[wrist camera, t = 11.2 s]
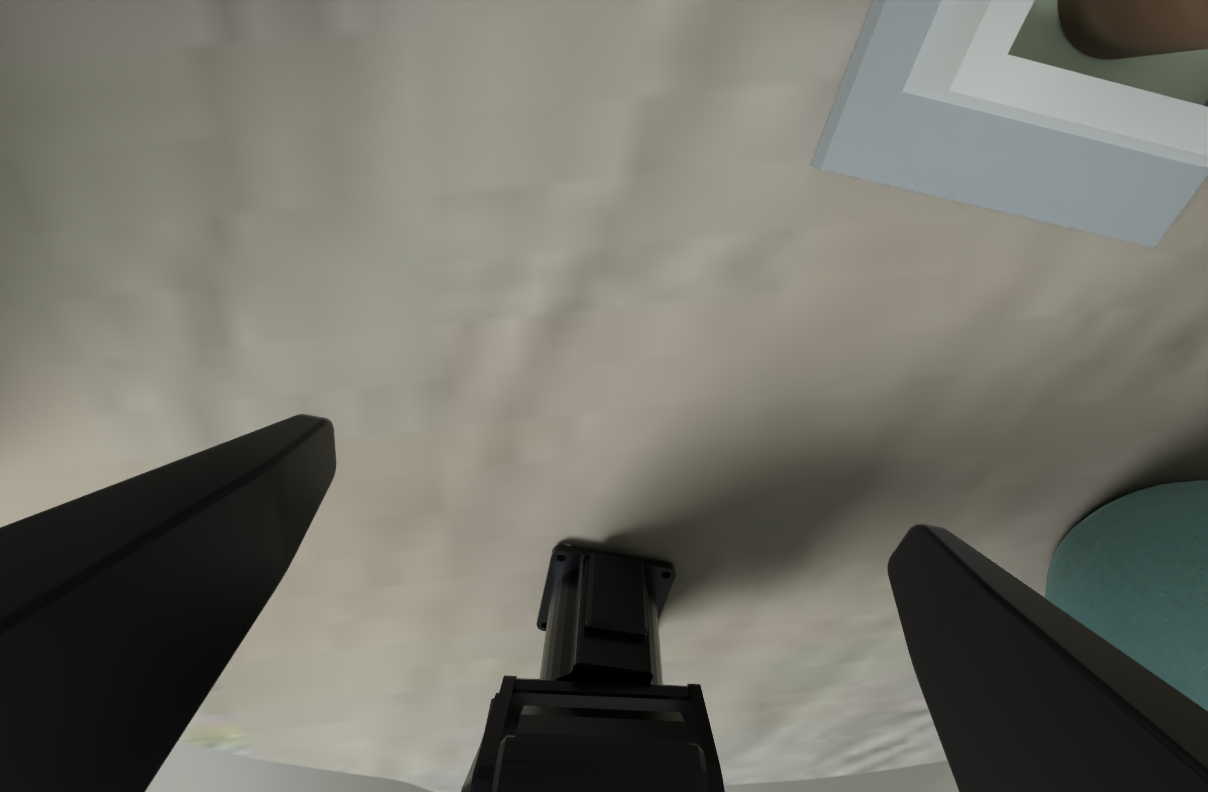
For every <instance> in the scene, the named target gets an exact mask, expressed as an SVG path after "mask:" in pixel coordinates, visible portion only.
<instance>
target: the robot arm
mask: <svg viewBox="0 0 1208 792" xmlns="http://www.w3.org/2000/svg"><path fill="white" fill-rule="evenodd" d="M335 470H336V452H335V439H334V428H333V424H332V422H331V421H330V420H329V419H327V418H323V417H317V416H312V415H306V414H299V415H296V416H293V417H290V418H288V419H285V420H283V421H280V422H277V423H275V424H272V425H269V426H267V427H264V428H262V429H259V430H256V431H254V432H251V433H248V434H246V435H243V436H240V437H238V438H235V439H233V440H230V441H227V442H225V443H222V444H219V445H217V446H214V447H212V448H209V449H206V450H204V451H201V452H198V453H196V454H193V455H191V456H188V457H185V458H183V459H180V460H177V461H175V462H172V463H169V464H167V465H164V466H162V467H159V468H156V469H154V470H151V471H148V472H146V473H143V474H140V475H138V476H135V477H133V478H130V479H127V480H125V481H122V482H119V483H117V484H114V485H111V486H109V487H106V488H104V489H101V490H98V491H96V492H93V493H90V494H88V495H85V496H82V497H80V498H77V499H75V500H72V501H69V502H67V503H64V504H61V505H59V506H56V507H53V508H51V509H48V510H46V511H43V512H40V513H38V514H35V515H32V516H30V517H27V518H24V519H22V520H19V521H17V522H14V523H11V524H9V525H6V526H3V527H1V528H0V792H145V791H146V789H147V788H148V786H149V785H150V783H151V782H152V780H153V779H154V777H155V775H156V774H157V772H158V771H159V769H160V768H161V766H162V765H163V763H164V761H165V760H166V758H167V757H168V755H169V754H170V752H171V750H172V749H173V748H174V746H175V744H176V743H177V741H178V740H179V738H180V737H181V735H182V734H183V732H184V731H185V729H186V727H187V726H188V724H189V723H190V721H191V720H192V718H193V717H194V715H195V714H196V712H197V710H198V709H199V707H200V706H201V704H202V703H203V701H204V700H205V698H206V696H207V695H208V693H209V692H210V690H211V689H212V687H213V686H214V684H215V683H216V681H217V679H218V678H219V676H220V675H221V673H222V672H223V670H224V669H225V667H226V665H227V664H228V662H229V661H230V659H231V658H232V656H233V655H234V653H235V652H236V650H237V648H238V647H239V645H240V644H241V642H242V641H243V639H244V638H245V636H246V634H247V633H248V631H249V630H250V628H251V627H252V625H253V624H254V622H255V621H256V619H257V617H258V616H259V614H260V613H261V611H262V610H263V608H264V607H265V605H266V603H267V602H268V600H269V599H270V597H271V596H272V594H273V593H274V591H275V590H276V588H277V586H278V585H279V583H280V581H281V580H282V578H283V576H284V575H285V573H286V572H287V570H288V568H289V566H290V564H291V562H292V560H293V558H294V557H295V555H296V553H297V551H298V549H299V547H300V545H301V543H302V541H303V539H304V536H305V534H306V532H307V530H308V528H309V526H310V524H311V522H312V520H313V518H314V516H315V514H316V512H317V510H318V508H319V506H320V504H321V502H322V500H323V498H324V496H325V494H326V492H327V490H328V488H329V486H330V484H331V482H332V480H333V478H334V475H335ZM561 555H562V556H561ZM675 575H676V573H675V567H674V565H673V564H671V563H668V562H663V561H657V560H650V559H644V558H638V557H632V556H626V555H620V554H614V553H608V552H602V551H596V550H590V549H583V548H577V547H571V546H565V545H558V546H556V547H554V548H553V550H552V555H551V559H550V564H549V568H548V573H547V577H546V582H545V587H544V591H543V596H542V600H541V605H540V609H539V614H538V619H537V627H538V629H540V630H542V631H546V635H545V643H544V650H543V658H542V665H541V673H540V679H520V678H517V676H504V678H503V681H502V685H501V689H500V692H499V693H496V695H495V698H493V699H491V704H490V709H489V713H488V718H487V723H486V727H485V732H484V735H483V739H482V742H481V744H480V747H479V749H478V752H477V754H476V756H475V759H474V761H473V764H472V766H471V768H470V771H469V773H468V775H467V778H466V780H465V783H464V785H463V787H462V791H461V792H725V791H724V785H723V778H722V773H721V768H720V764H719V759H718V755H717V751H716V747H715V743H714V739H713V735H712V731H711V727H710V723H709V718H708V714H707V710H706V706H705V702H704V698H703V694H702V690H701V686H700V684H687V686H676V685H663V681H662V668H661V655H660V643H659V630H658V618H659V616H660V613H661V611H662V608H663V606H664V603H665V601H666V598H667V596H668V593H669V591H670V589H671V586H672V584H673V581H674V579H675ZM888 576H889V580H890V583H891V587H892V591H893V595H894V598H895V602H896V606H897V609H898V613H899V617H900V621H901V624H902V628H903V632H904V635H905V639H906V643H907V647H908V650H909V654H910V657H911V661H912V664H913V667H914V670H915V673H916V676H917V679H918V682H919V685H920V687H921V690H922V693H923V695H924V698H925V701H926V703H927V706H928V709H929V712H930V714H931V717H932V720H933V722H934V725H935V728H936V730H937V733H938V736H939V738H940V741H941V744H942V747H943V749H944V752H945V755H946V757H947V760H948V762H949V765H950V768H951V770H952V773H953V776H954V779H955V781H956V784H957V787H958V790H959V792H1208V711H1207V710H1205V709H1204V708H1203V707H1201V706H1200V705H1198V704H1197V703H1195V702H1194V701H1192V700H1191V699H1190V698H1188V697H1187V696H1185V695H1184V694H1182V693H1181V692H1179V691H1178V690H1177V689H1175V688H1174V687H1172V686H1171V685H1169V684H1168V683H1167V682H1165V681H1164V680H1162V679H1161V678H1159V677H1158V676H1156V675H1155V674H1154V673H1152V672H1151V671H1149V670H1148V669H1146V668H1145V667H1144V666H1142V665H1141V664H1139V663H1138V662H1136V661H1135V660H1133V659H1132V658H1131V657H1129V656H1128V655H1126V654H1125V653H1123V652H1122V651H1121V650H1119V649H1118V648H1116V647H1115V646H1113V645H1112V644H1110V643H1109V642H1108V641H1106V640H1105V639H1103V638H1102V637H1100V636H1099V635H1097V634H1096V633H1095V632H1093V631H1092V630H1090V629H1089V628H1087V627H1086V626H1085V625H1083V624H1082V623H1080V622H1079V621H1077V620H1076V619H1074V618H1073V617H1072V616H1070V615H1069V614H1067V613H1066V612H1064V611H1063V610H1062V609H1060V608H1059V607H1057V606H1056V605H1054V604H1053V603H1051V602H1050V601H1049V600H1047V599H1046V598H1044V597H1043V596H1041V595H1040V594H1038V593H1037V592H1036V591H1034V590H1033V589H1031V588H1030V587H1028V586H1027V585H1026V584H1024V583H1023V582H1021V581H1020V580H1018V579H1017V578H1015V577H1014V576H1013V575H1011V574H1010V573H1008V572H1007V571H1005V570H1004V569H1003V568H1001V567H1000V566H998V565H997V564H995V563H994V562H992V561H991V560H990V559H988V558H987V557H985V556H984V555H982V554H981V553H980V552H978V551H977V550H975V549H974V548H972V547H971V546H969V545H968V544H967V543H965V542H964V541H962V540H961V539H959V538H958V537H956V536H955V535H954V534H952V533H951V532H949V531H948V530H946V529H944V528H941V527H936V526H930V525H925V524H917V525H915V526H913V527H911V528H910V529H909V531H908V532H907V534H906V535H905V537H904V538H903V539H902V541H901V542H900V544H899V545H898V547H897V548H896V550H895V551H894V552H893V554H892V555H891V557H890V559H889V562H888Z"/></svg>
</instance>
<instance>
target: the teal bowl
mask: <svg viewBox="0 0 1208 792" xmlns="http://www.w3.org/2000/svg"><path fill="white" fill-rule="evenodd" d="M1045 598H1046V599H1047V600H1049V601H1050V602H1051V603H1053V604H1054V605H1056V606H1057V607H1059V608H1060V609H1062V610H1063V611H1064V612H1066V613H1067V614H1069V615H1070V616H1072V617H1073V618H1074V619H1076V620H1077V621H1079V622H1080V623H1082V624H1083V625H1085V626H1086V627H1087V628H1089V629H1090V630H1092V631H1093V632H1095V633H1096V634H1097V635H1099V636H1100V637H1102V638H1103V639H1105V640H1106V641H1108V642H1109V643H1110V644H1112V645H1113V646H1115V647H1116V648H1118V649H1119V650H1121V651H1122V652H1123V653H1125V654H1126V655H1128V656H1129V657H1131V658H1132V659H1133V660H1135V661H1136V662H1138V663H1139V664H1141V665H1142V666H1144V667H1145V668H1146V669H1148V670H1149V671H1151V672H1152V673H1154V674H1155V675H1156V676H1158V677H1159V678H1161V679H1162V680H1164V681H1165V682H1167V683H1168V684H1169V685H1171V686H1172V687H1174V688H1175V689H1177V690H1178V691H1179V692H1181V693H1182V694H1184V695H1185V696H1187V697H1188V698H1190V699H1191V700H1192V701H1194V702H1195V703H1197V704H1198V705H1200V706H1201V707H1203V708H1204V709H1205V710H1207V711H1208V480H1196V481H1185V482H1175V483H1168V484H1162V485H1157V486H1153V487H1149V488H1145V489H1142V490H1138V491H1136V492H1133V493H1131V494H1128V495H1126V496H1123V497H1121V498H1118V499H1116V500H1114V501H1112V502H1110V503H1108V504H1107V505H1105V506H1103V507H1101V508H1099V509H1098V510H1096V511H1095V512H1093V513H1092V514H1090V515H1089V516H1087V517H1086V518H1085V519H1084V520H1082V521H1081V522H1080V523H1079V524H1077V525H1076V526H1075V527H1074V528H1073V529H1072V530H1071V531H1070V532H1069V533H1068V534H1067V535H1066V536H1065V538H1064V539H1063V540H1062V541H1061V543H1060V544H1059V546H1058V547H1057V549H1056V551H1055V553H1054V555H1053V558H1052V560H1051V563H1050V566H1049V570H1048V575H1047V583H1046V594H1045Z"/></svg>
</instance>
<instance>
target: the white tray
mask: <svg viewBox="0 0 1208 792" xmlns="http://www.w3.org/2000/svg"><path fill="white" fill-rule="evenodd" d="M811 166H813V167H815V168H818V169H821V170H826V171H830V172H834V173H838V174H843V175H847V176H851V177H855V178H860V179H864V180H868V181H872V182H877V183H881V184H885V185H889V186H894V187H898V188H902V189H906V190H911V191H915V192H919V193H923V194H928V195H932V196H936V197H940V198H945V199H949V200H953V201H958V202H962V203H966V204H970V205H975V206H979V207H983V208H987V209H992V210H996V211H1000V212H1004V213H1009V214H1013V215H1017V216H1021V217H1026V218H1030V219H1034V220H1038V221H1043V222H1047V223H1051V224H1055V225H1060V226H1064V227H1068V228H1072V229H1077V230H1081V231H1085V232H1089V233H1094V234H1098V235H1102V236H1106V237H1111V238H1115V239H1119V240H1123V241H1128V242H1132V243H1136V244H1140V245H1145V246H1149V247H1153V248H1154V247H1155V246H1156V245H1157V243H1158V242H1159V241H1160V239H1161V238H1162V237H1163V235H1164V234H1165V233H1166V231H1167V230H1168V228H1169V227H1170V226H1171V224H1172V223H1173V222H1174V220H1175V219H1176V218H1177V216H1178V215H1179V214H1180V212H1181V211H1182V210H1183V208H1184V207H1185V205H1186V204H1187V203H1188V201H1189V200H1190V199H1191V197H1192V196H1193V195H1194V193H1195V192H1196V191H1197V189H1198V188H1199V187H1200V185H1201V184H1202V183H1203V181H1204V180H1205V178H1206V177H1207V176H1208V49H1203V50H1194V51H1185V52H1176V53H1168V54H1159V55H1150V56H1141V57H1132V58H1123V59H1114V60H1111V59H1099V58H1094V57H1091V56H1089V55H1086V54H1084V53H1083V52H1081V51H1079V50H1078V49H1077V48H1076V47H1075V46H1074V45H1073V44H1072V43H1071V42H1070V41H1069V39H1068V38H1067V37H1066V35H1065V33H1064V31H1063V28H1062V26H1061V22H1060V19H1059V13H1058V0H873V1H872V3H871V6H870V9H869V11H868V14H867V17H866V19H865V22H864V25H863V27H862V30H861V33H860V35H859V38H858V41H857V43H856V46H855V49H854V51H853V54H852V57H851V59H850V62H849V65H848V67H847V70H846V73H845V75H844V78H843V81H842V83H841V86H840V88H839V91H838V94H837V96H836V99H835V102H834V104H833V107H832V110H831V112H830V115H829V118H828V120H827V123H826V126H825V128H824V131H823V134H822V136H821V139H820V142H819V144H818V147H817V150H816V152H815V155H814V158H813V160H812V163H811Z"/></svg>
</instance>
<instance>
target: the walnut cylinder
mask: <svg viewBox="0 0 1208 792" xmlns="http://www.w3.org/2000/svg"><path fill="white" fill-rule="evenodd" d="M1058 13H1059V19H1060V22H1061V26H1062V28H1063V31H1064V33H1065V35H1066V37H1067V38H1068V39H1069V41H1070V42H1071V43H1072V44H1073V45H1074V46H1075V47H1076V48H1077V49H1078V50H1079V51H1081V52H1083V53H1084V54H1086V55H1089V56H1091V57H1094V58H1099V59H1111V60H1114V59H1123V58H1132V57H1141V56H1150V55H1159V54H1168V53H1176V52H1185V51H1194V50H1203V49H1208V0H1058Z"/></svg>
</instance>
